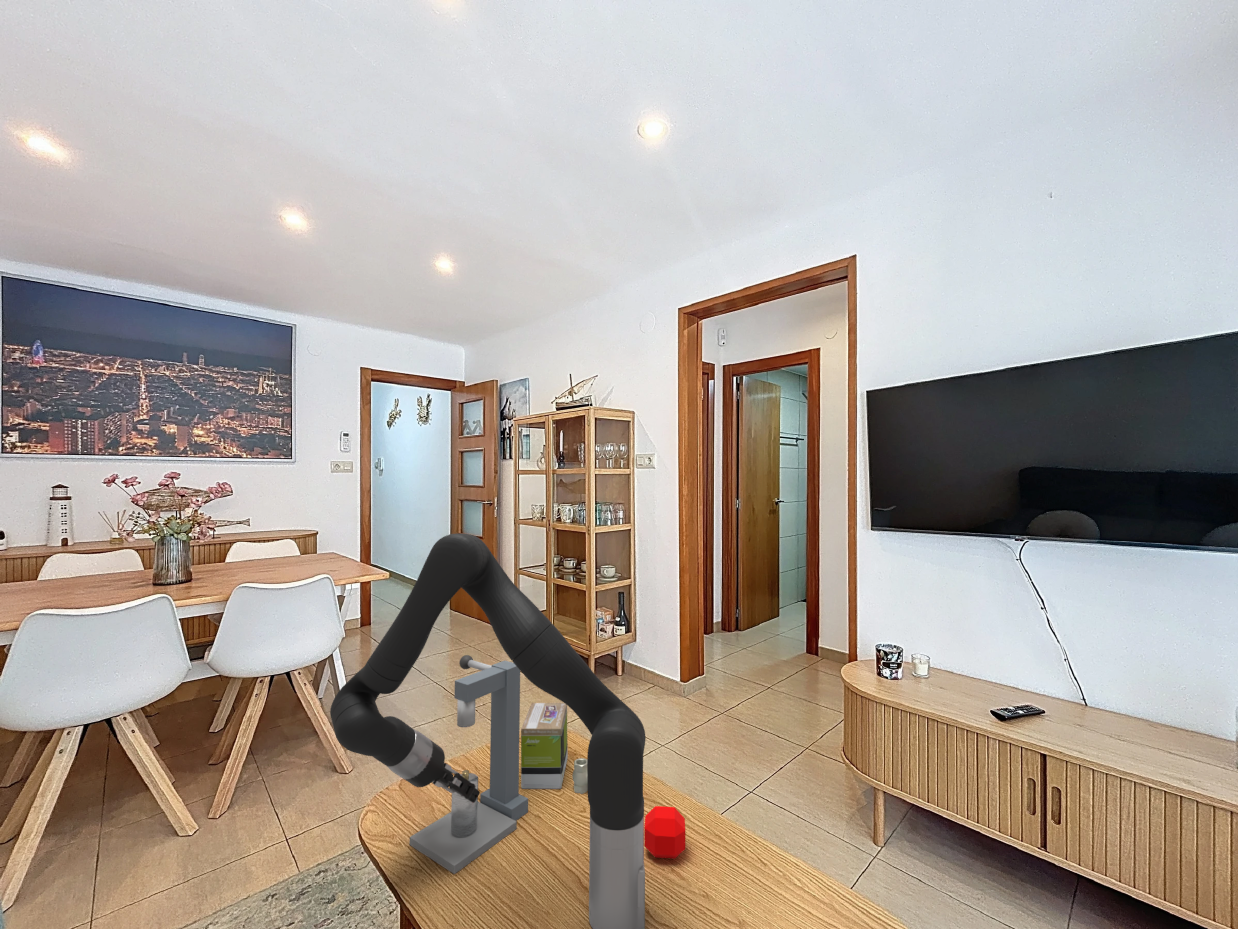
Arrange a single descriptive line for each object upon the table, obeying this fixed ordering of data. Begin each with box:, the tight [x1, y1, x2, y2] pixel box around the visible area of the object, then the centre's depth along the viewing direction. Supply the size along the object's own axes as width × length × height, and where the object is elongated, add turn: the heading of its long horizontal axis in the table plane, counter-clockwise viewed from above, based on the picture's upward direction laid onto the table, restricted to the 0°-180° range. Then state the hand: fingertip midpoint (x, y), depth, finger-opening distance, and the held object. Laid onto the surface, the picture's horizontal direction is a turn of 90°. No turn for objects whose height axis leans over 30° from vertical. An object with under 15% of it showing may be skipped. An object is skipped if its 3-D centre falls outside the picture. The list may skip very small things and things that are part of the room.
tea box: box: [520, 702, 569, 790], centre depth 134 cm, size 15×10×15 cm
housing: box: [450, 769, 479, 838], centre depth 110 cm, size 5×5×12 cm
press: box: [409, 654, 529, 875], centre depth 115 cm, size 22×22×32 cm
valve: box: [572, 757, 588, 795], centre depth 126 cm, size 7×7×12 cm
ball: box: [644, 805, 687, 860], centre depth 106 cm, size 8×8×8 cm
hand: (462, 790), depth 110 cm, fingers open, 8 cm apart
